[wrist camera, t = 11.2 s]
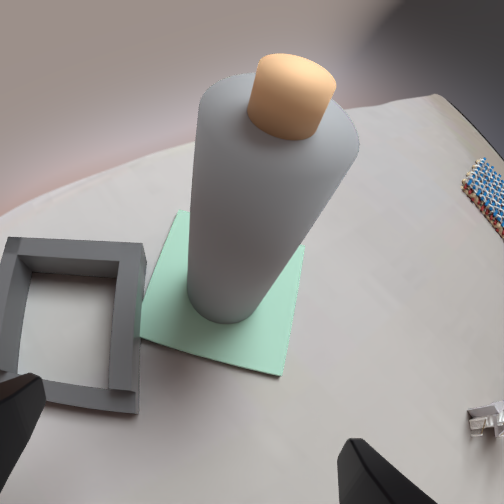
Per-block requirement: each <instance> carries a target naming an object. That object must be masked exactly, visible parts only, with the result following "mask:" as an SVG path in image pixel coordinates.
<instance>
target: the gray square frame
mask: <svg viewBox="0 0 504 504" xmlns="http://www.w3.org/2000/svg"><path fill="white" fill-rule="evenodd" d="M146 265H147V261H146V257H145V252H144V248H143V243H130V242H109V241H88V240H67V239H45V238H24V237H8V239H7V242H6V245H5V249H4V252H3V256H2V259H1V263H0V382H3V381H6V380H9V379H12V378H15V377H18V376H21V375H19V374H17V368H18V356H19V347H20V338H21V331H22V324H23V317H24V311H25V305H26V300H27V294H28V289H29V284H30V280H31V275H32V272H42V273H55V274H67V275H81V276H95V277H110V278H117V283H116V291H115V300H114V309H113V320H112V331H111V345H110V361H109V386H108V388H109V389H101V388H93V387H86V386H79V385H72V384H66V383H60V382H54V381H49V380H43V379H42V380H43V385H44V390H45V394H46V401H50V402H55V403H61V404H66V405H72V406H78V407H84V408H91V409H98V410H106V411H114V412H124V413H134V414H137V413H139V367H140V342H141V338H140V323H141V309H142V302H143V297H144V285H145V275H146ZM110 389H112V390H110Z"/></svg>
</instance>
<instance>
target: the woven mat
mask: <svg viewBox="0 0 504 504" xmlns="http://www.w3.org/2000/svg"><path fill="white" fill-rule="evenodd" d="M481 160H482V161H481ZM485 160H486V158H485V157H484V159H480V160H476V164H477V165H473V170H472V171H471V172H470V171H469V172H468V173H467V177H466V178H467V179H463V180H462V183H463V185H464V187H463V186H461V188H462V189H463V191H464V192H465V193H466V194H467V195H468V196H469V197H470V198H471V200H472V201H474V203H475V204H476V205H477V207H478V208H479V209H480V211H482V213H483V214H484V215H485V216H486V218H487V219H488V220H489V221H490V222H491V224H492V225H493V226H494V228H496V231H497V232H498V233H499V234H500V235H501V237H502V238H503V239H504V181H503V180H500V177H501V175H500V174H499V176H496V175H497V173H496V172H493V168H494V167H493V166H492V167H491V168H490V167H488V166H489V164H488V163H485ZM483 163H484V164H483ZM487 169H488V171H486V170H487ZM491 172H492V173H491ZM491 174H492V175H491ZM475 177H476V178H475ZM468 178H469V179H468ZM494 178H495V179H494ZM487 181H488V182H487ZM480 182H481V183H480ZM478 185H479V186H478ZM469 186H470V187H471V188H470V187H469ZM466 188H467V189H468V190H469V191H467V190H466ZM473 191H474V192H475V193H474V192H473ZM478 196H479V197H478ZM482 201H483V202H484V203H483V202H482ZM489 203H490V204H489ZM479 204H481V205H482V207H481V206H480V205H479ZM488 215H490V217H489V216H488ZM495 216H496V218H495ZM492 219H493V220H494V222H493V221H492ZM498 221H500V223H499V222H498Z"/></svg>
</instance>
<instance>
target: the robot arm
mask: <svg viewBox="0 0 504 504" xmlns="http://www.w3.org/2000/svg"><path fill="white" fill-rule="evenodd" d="M45 403H46V394H45V390H44V385H43V380H42V378H41V377H40V376H38V375H35V374H33V373H27V374H24V375H21V376H18V377H15V378H12V379H9V380H6V381H3V382H0V493H1V491H2V489H3V487H4V485H5V483H6V481H7V479H8V477H9V475H10V474H11V472H12V470H13V468H14V466H15V464H16V463H17V461H18V459H19V457H20V455H21V454H22V452H23V450H24V448H25V447H26V445H27V443H28V441H29V439H30V437H31V435H32V433H33V430H34V428H35V426H36V424H37V421H38V419H39V417H40V415H41V412H42V410H43V408H44V406H45ZM337 468H338V486H339V503H340V504H437V503H436V502H435V501H434V500H432V499H431V498H430V497H429V496H428V495H426V494H425V493H424V492H423V491H422V490H420V489H419V488H418V487H417V486H416V485H415V484H413V483H412V482H411V481H410V480H409V479H407V478H406V477H405V476H404V475H403V474H402V473H400V472H399V471H398V470H397V469H396V468H395V467H394V466H392V465H391V464H390V463H389V462H388V461H387V460H386V459H385V458H383V457H382V456H381V455H380V454H379V453H378V452H377V451H376V450H374V449H373V448H372V447H371V446H370V445H369V444H368V443H367V442H366V441H365V440H363V439H361V438H350V439H348V440H347V441H346V443H345V445H344V447H343V448H342V450H341V452H340V454H339V456H338V459H337Z"/></svg>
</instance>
